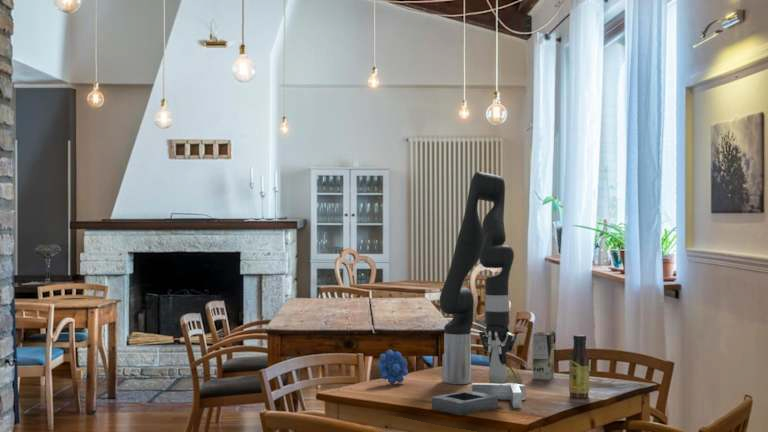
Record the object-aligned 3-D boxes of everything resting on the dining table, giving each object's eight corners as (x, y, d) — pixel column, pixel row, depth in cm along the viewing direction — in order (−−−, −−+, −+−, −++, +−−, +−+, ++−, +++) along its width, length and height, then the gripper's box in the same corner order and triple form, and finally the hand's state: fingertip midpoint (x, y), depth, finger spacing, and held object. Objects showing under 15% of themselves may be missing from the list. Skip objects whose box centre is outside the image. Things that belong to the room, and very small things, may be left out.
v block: (517, 408, 248) (517, 393, 249) (468, 397, 264) (468, 383, 264) (543, 403, 256) (543, 388, 256) (494, 393, 272) (494, 379, 272)
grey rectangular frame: (431, 408, 248) (431, 396, 248) (469, 401, 258) (469, 390, 258) (460, 415, 239) (460, 403, 239) (497, 407, 249) (497, 396, 249)
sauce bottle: (566, 394, 270) (566, 333, 270) (585, 394, 270) (585, 333, 270) (572, 399, 263) (572, 336, 263) (592, 398, 264) (591, 335, 264)
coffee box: (550, 380, 296) (550, 335, 297) (532, 379, 298) (532, 334, 299) (554, 376, 305) (554, 332, 305) (536, 375, 307) (536, 331, 307)
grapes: (382, 387, 282) (382, 352, 282) (374, 384, 288) (374, 349, 288) (413, 384, 287) (413, 350, 287) (404, 381, 293) (404, 347, 293)
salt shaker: (506, 383, 254) (506, 340, 255) (488, 382, 255) (487, 340, 256) (507, 380, 260) (507, 338, 260) (489, 379, 261) (489, 338, 261)
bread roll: (509, 386, 285) (509, 362, 286) (529, 394, 271) (529, 369, 271) (483, 387, 283) (483, 364, 283) (502, 395, 268) (502, 371, 268)
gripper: (522, 310, 255) (522, 366, 255) (488, 307, 266) (488, 361, 266) (506, 311, 251) (506, 369, 250) (472, 308, 261) (472, 363, 261)
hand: (497, 365), depth 258 cm, fingers closed on salt shaker, 3 cm apart
